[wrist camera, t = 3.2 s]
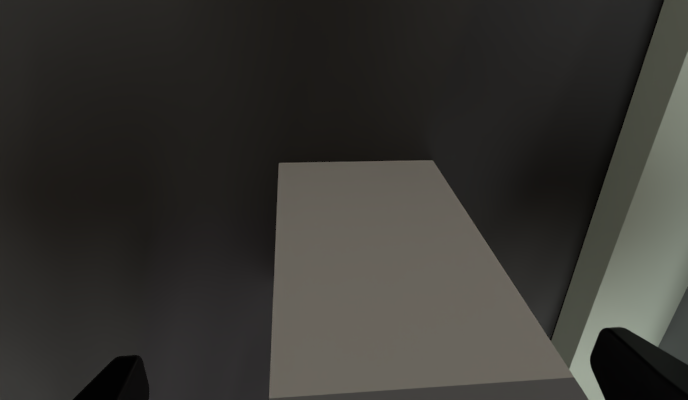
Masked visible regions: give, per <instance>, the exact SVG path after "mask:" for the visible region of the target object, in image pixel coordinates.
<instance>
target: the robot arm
mask: <svg viewBox="0 0 688 400" xmlns="http://www.w3.org/2000/svg"><path fill="white" fill-rule="evenodd" d="M590 365H591V369H592V371H593V373H594V376H595V378H596V380H597V383H598V385H599V387H600V389H601V392H602V394H603V396H604V399H605V400H688V365H687V364H686V363H684V362H682V361H681V360H679V359H677V358H676V357H674V356H672V355H670V354H669V353H667V352H665V351H664V350H662V349H660V348H659V347H657V346H655V345H653V344H652V343H650V342H648V341H647V340H645V339H643V338H642V337H640V336H638V335H636V334H635V333H633V332H631V331H630V330H628V329H626V328H623V327H610V328H603V329H602V330H601V331H600V332H599V335H598V337H597V340H596V342H595V345H594V347H593V350H592V352H591V355H590ZM73 400H149V384H148V380H147V376H146V372H145V368H144V364H143V361H142V358H141V357H140V356H137V355H132V356H119V357H116V358H115V359H113V360H112V361H111V362H110V363H109V364H108V365H107V366H106V367H105V368H104V369H103V370H102V371H101V372H100V373H99V374H98V375H97V376H96V377H95V378H94V379H93V380H92V381H91V382H90V383H89V384H88V385H87V386H86V387H85V388H84V389H83V390H82V391H81V392H80V393H79V394H78V395H77V396H76V397H75V398H74V399H73Z"/></svg>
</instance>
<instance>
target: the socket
mask: <svg viewBox="0 0 688 400" xmlns="http://www.w3.org/2000/svg"><path fill="white" fill-rule="evenodd" d="M610 327H623V328H626V329H628V330H630V331H631V332H633V333H635V334H636V335H638V336H640V337H642V338H643V339H645V340H647V341H648V342H650V343H652V344H653V345H655V346H657V347H659V348H660V349H662V350H664V351H665V352H667V353H669V354H670V355H672V356H674V357H676V358H677V359H679V360H681V361H682V362H684V363H686V364H687V365H688V0H664V3H663V6H662V9H661V12H660V15H659V18H658V21H657V24H656V27H655V30H654V33H653V36H652V39H651V42H650V45H649V48H648V51H647V54H646V57H645V60H644V63H643V66H642V69H641V72H640V75H639V78H638V81H637V84H636V87H635V90H634V93H633V96H632V99H631V102H630V105H629V108H628V111H627V114H626V117H625V120H624V123H623V126H622V129H621V132H620V135H619V138H618V141H617V144H616V147H615V150H614V153H613V156H612V159H611V162H610V165H609V168H608V171H607V174H606V177H605V180H604V183H603V186H602V189H601V192H600V195H599V198H598V201H597V204H596V207H595V210H594V213H593V216H592V219H591V222H590V225H589V228H588V231H587V234H586V237H585V240H584V243H583V247H582V250H581V253H580V256H579V259H578V262H577V265H576V268H575V271H574V274H573V277H572V280H571V283H570V286H569V289H568V292H567V295H566V298H565V301H564V304H563V307H562V310H561V313H560V316H559V319H558V322H557V325H556V328H555V331H554V334H553V337H552V340H551V342H552V344H553V345H554V347H555V349H556V350H557V352H558V353H559V355H560V356H561V358H562V359H563V361H564V362H565V364H566V365H567V367H568V369H569V370H570V372H571V373H572V375H573V376H574V378H575V379H576V381H577V382H578V384H579V385H580V387H581V388H582V390H583V392H584V393H585V395H586V396H587V398H588V399H589V400H605V399H604V396H603V394H602V392H601V389H600V387H599V385H598V383H597V380H596V378H595V376H594V373H593V371H592V369H591V365H590V355H591V352H592V350H593V347H594V345H595V342H596V340H597V337H598V335H599V332H600V331H601V330H602V329H603V328H610Z"/></svg>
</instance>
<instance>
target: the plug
mask: <svg viewBox="0 0 688 400" xmlns="http://www.w3.org/2000/svg"><path fill="white" fill-rule="evenodd" d="M269 400H589V399H588V398H587V396H586V395H585V393H584V392H583V390H582V388H581V387H580V385H579V384H578V382H577V381H576V379H575V378H574V376H573V375H572V373H571V372H570V370H569V369H568V367H567V365H566V364H565V362H564V361H563V359H562V358H561V356H560V355H559V353H558V352H557V350H556V349H555V347H554V345H553V344H552V342H551V341H550V339H549V338H548V336H547V335H546V333H545V332H544V330H543V329H542V327H541V326H540V324H539V322H538V321H537V319H536V318H535V316H534V315H533V313H532V312H531V310H530V309H529V307H528V306H527V304H526V303H525V301H524V299H523V298H522V296H521V295H520V293H519V292H518V290H517V289H516V287H515V286H514V284H513V283H512V281H511V280H510V278H509V276H508V275H507V273H506V272H505V270H504V269H503V267H502V266H501V264H500V263H499V261H498V260H497V258H496V257H495V255H494V253H493V252H492V250H491V249H490V247H489V246H488V244H487V243H486V241H485V240H484V238H483V237H482V235H481V233H480V232H479V230H478V229H477V227H476V226H475V224H474V223H473V221H472V220H471V218H470V217H469V215H468V214H467V212H466V210H465V209H464V207H463V206H462V204H461V203H460V201H459V200H458V198H457V197H456V195H455V194H454V192H453V191H452V189H451V187H450V186H449V184H448V183H447V181H446V180H445V178H444V177H443V175H442V174H441V172H440V171H439V169H438V168H437V166H436V164H435V163H434V161H433V160H415V161H357V162H300V163H279V168H278V193H277V217H276V242H275V266H274V291H273V315H272V340H271V364H270V389H269Z"/></svg>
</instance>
